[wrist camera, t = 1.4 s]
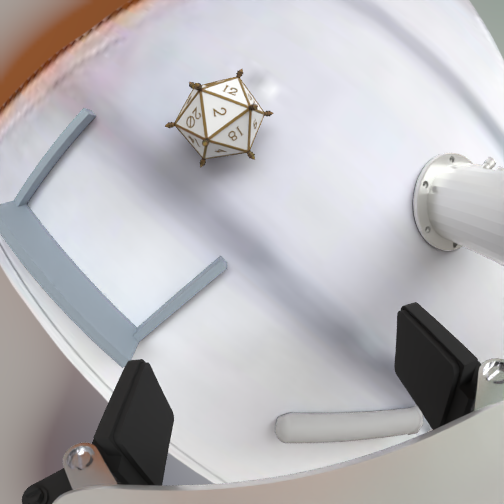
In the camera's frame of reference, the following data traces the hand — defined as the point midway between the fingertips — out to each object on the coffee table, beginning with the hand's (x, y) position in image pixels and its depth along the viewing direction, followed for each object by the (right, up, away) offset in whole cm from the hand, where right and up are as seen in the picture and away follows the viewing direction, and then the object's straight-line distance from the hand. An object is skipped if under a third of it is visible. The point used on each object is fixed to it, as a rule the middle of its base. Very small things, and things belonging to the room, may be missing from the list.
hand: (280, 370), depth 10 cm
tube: (+14, -22, +32) cm, 42 cm away
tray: (-17, +6, +21) cm, 28 cm away
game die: (-4, +17, +19) cm, 26 cm away
